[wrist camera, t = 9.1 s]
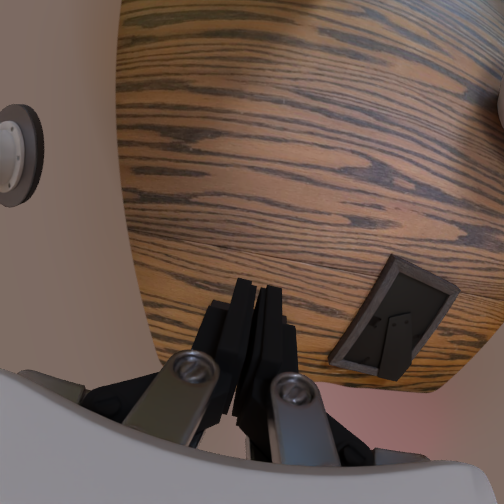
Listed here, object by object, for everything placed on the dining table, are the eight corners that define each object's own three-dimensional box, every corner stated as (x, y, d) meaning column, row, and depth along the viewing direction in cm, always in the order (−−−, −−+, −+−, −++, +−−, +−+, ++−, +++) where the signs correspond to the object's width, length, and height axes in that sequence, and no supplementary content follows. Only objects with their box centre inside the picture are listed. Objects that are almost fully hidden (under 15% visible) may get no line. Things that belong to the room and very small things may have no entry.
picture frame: (393, 373, 40) (455, 285, 33) (396, 381, 38) (462, 291, 31) (327, 357, 39) (391, 253, 32) (329, 366, 37) (397, 259, 30)
